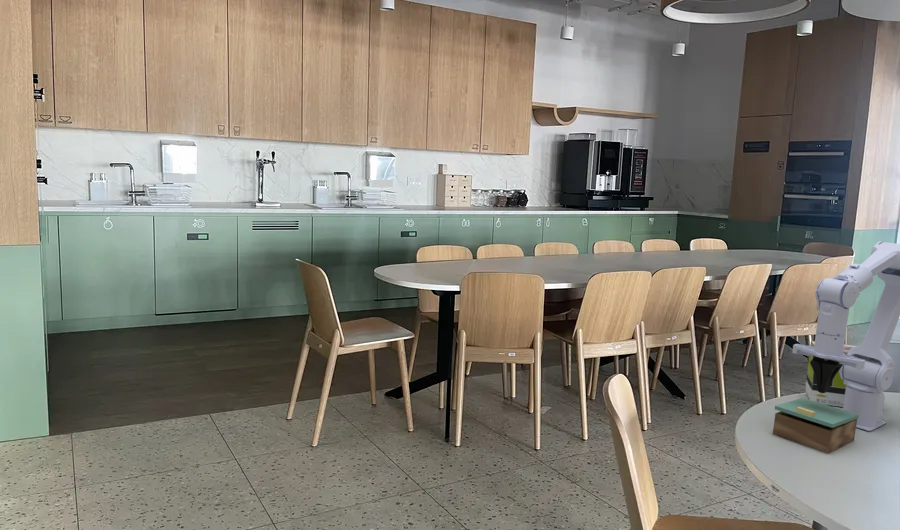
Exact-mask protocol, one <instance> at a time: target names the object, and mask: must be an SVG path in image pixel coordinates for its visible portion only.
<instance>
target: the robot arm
mask: <svg viewBox="0 0 900 530" xmlns="http://www.w3.org/2000/svg"><path fill="white" fill-rule="evenodd" d="M874 276H877V277H878V278H879V279H880V280H882V281H884V288H883V290H882V293H881V295H880V298H879V301H878V303H877V306H876V308H875V311H874V314H873V316H872V318H871V321H870V324H869V326H868V329H867V332H866V333H865V336H864V340H863V342H862V344H860V345H856V346H857V347H854V348H851V349H849V351H848V353H847V354H845V353H843V350H844V344H845V341H846V336H847V335H846V334H847V328H848V321H849V320H848V319H849V314H850V308H852V307H853V306H854V304H855V303H856V301H857V299H858V298H859V296H860V295H861V294H860V293H861V292H863V290H865V289H867V288H868V287H869V286H870V285H872V283H873V280H874ZM814 295H815V296H814V297H815V300H816V311H818V313H817V321H816V322H817V323H816V331H815V338H814V341H815V344H814V347H812V346H810V345H806V344H800V343H795V344H792V345H793V346H792V352H791V353H792V354H797V355H798V354H799V355H804V356H807V357H809V356H810V357H813V359H812V360H811V361H810V364H811V366H812V368H813V371H814V374H815V377H816V381H817V388H818V392H821V393H826V392H828V390H829V387H830V384H831V382H832V380H833V379H834V377H835V375H836V374H837V373H838V371H839V373H840V377H841V378H842V380H844V383H843V384H845V385H846V391H845V398H844V405H843V407H842V410H845V411H848V412H851V413H855V414H858V415H859V418H858V419H857V425H856V429H857V428H858V429H861V430H863V431H866V432H867V431H868V432H871V431H873V430H875V429H877V428H879V427H882V426H884V425H885V424H886V423H887V422H886V421H884V420H882V419H883V412H884V406H885V400H886V399H885V398H886V395H885V393H884V392H885V391H887V390H888V389H889V388H890V387H891V385H892V384H893V382H894V374H895V373H894V372H895V368H896V363H895V361H894V360H893V358H892V357H891V355H890V354H889V353H888V348H889V345H890V343H891V340H892V338H893V334H894V333H895V330H896V327H897V324H898V322H899V319H900V243H895V242H894V243H893V242H887V241H884V240H880V241H878V242H877V243H875V244H874V245H873V246H872V249H871V252H870V255H869V256H868V257H867V258H866V259H865V260H864V261H863V262H861V263H851V264H850V265H849V266H848V267H847V268H845V269H844V270H842V271H841V272H839V274H837V275H835V276H834V277H833V278H831V277H827V278H823V279H821V280H820V281H819V283H818V284H817V286H816V289H815V290H814ZM864 359H865V360H864ZM868 360H869V361H868ZM871 361H873V362H871ZM875 362H877V363H875ZM879 363H881V364H879Z"/></svg>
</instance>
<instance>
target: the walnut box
mask: <svg viewBox="0 0 900 530" xmlns="http://www.w3.org/2000/svg"><path fill="white" fill-rule="evenodd" d="M856 425H857V419H855V420H852V421H850V422H847V423H844V424H841V425H839V426H836V427H833V428H831V427H828V426H825V425H822V424H819V423H816V422H813V421H810V420H806V419H803V418H800V417H797V416H794V415H791V414H788V413H785V412H782V411H778V412H775V413H774V423H773V428H772V429H773V430H772V435H773V436H777V437H779V438H782V439H784V440H788V441H790V442H794V443H796V444H799V445H802V446H805V447H807V448H810V449H813V450H816V451H818V452H821V453H825V454H826V455H827V454H831V453H833V452H834V451H836V450H838V449H840V448H843V447H845V446H846V445H848V444H850V443H852V442H854V441H855V437H856V431H857V427H856Z"/></svg>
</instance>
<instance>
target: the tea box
mask: <svg viewBox="0 0 900 530" xmlns="http://www.w3.org/2000/svg"><path fill="white" fill-rule="evenodd" d="M814 344H815V340H811V341H810V345H809V346H812V347H814ZM857 346H858V345H855V344H854V345H853V344H846V343H844V350H843V353H845V354H847V353H848V351H849V349H851V348H854V347H857ZM812 359H813V357H810V356H808V362H807V363H808V364H807V371H806V377H805V378H806V379H805V393H806V396H807V399H808V400H811V401H815V402H818V403H821V404H825V405H828V406H831V407H841V408H843V405H844V398H845V391H846V385H845V384H843V383H844V380H842V378H841V377H840V373H839V371H838V373H837V374H836V375H835V377H834V379H833V380H832V382H831V384H830V387H829V390H828V392H826V393H821V392H818V388H817V381H816V377H815V374H814V371H813V368H812V366H811V364H810V361H811V360H812ZM864 360H865V359H864ZM868 361H869V360H868ZM871 362H873V361H871ZM875 363H877V362H875ZM879 364H881V363H879Z"/></svg>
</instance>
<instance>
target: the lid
mask: <svg viewBox="0 0 900 530" xmlns="http://www.w3.org/2000/svg"><path fill="white" fill-rule="evenodd" d="M774 410H775V411H778V412H780V411H782V412H785V413H788V414H791V415H794V416H797V417H800V418H803V419H806V420H810V421H813V422H816V423H819V424H822V425H825V426H828V427H831V428H833V427H836V426H839V425H841V424H844V423H847V422H850V421H852V420H855V419H858V418H859V415H858V414H855V413H851V412H848V411H845V410H843V409H841V408H838V407H836V406H832V405H825V404H821V403H818V402H815V401H811V400H809V398H807V399H806V398H804V397H801V398H797V399H795V400H791V401H787V402H784V403H780V404H777V405H776V404H775V406H774Z"/></svg>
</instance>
